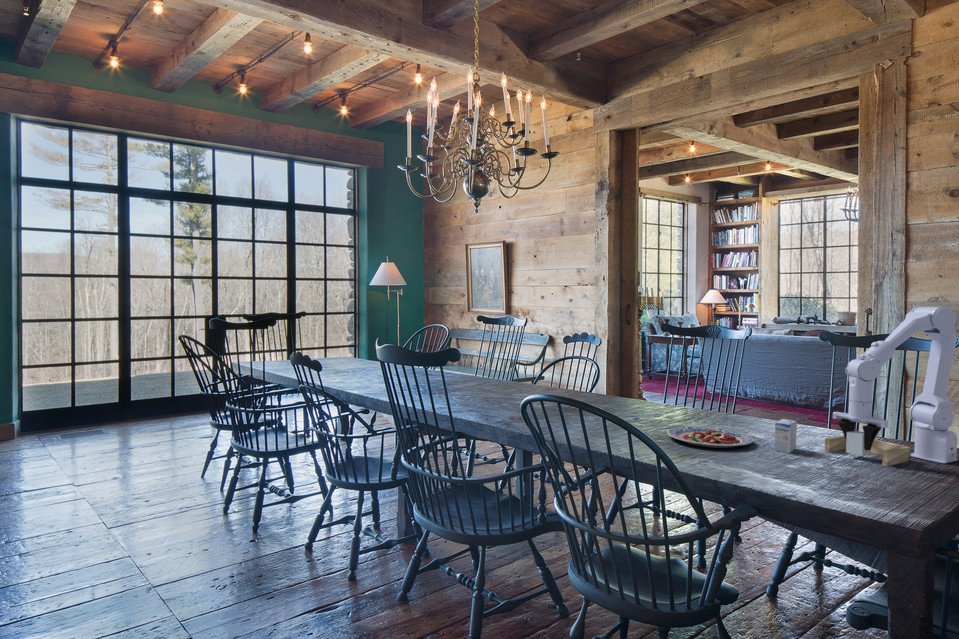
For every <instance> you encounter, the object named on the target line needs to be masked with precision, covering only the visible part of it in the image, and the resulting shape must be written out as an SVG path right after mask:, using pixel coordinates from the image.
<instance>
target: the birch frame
mask: <svg viewBox="0 0 959 639" xmlns="http://www.w3.org/2000/svg"><path fill="white" fill-rule="evenodd" d="M844 450H845V451H846V441H845V437H844V434H843V435H837V436H831V437H826V438H824V452H826V453H834V452H837V451H844ZM911 451H912V447H911V446H909V445H907V446H906V445H903V444H898V443H892V442H888V441H885V440H884V441H883V440H877V439H874V441H873V444H872V447H871V454H873V455H878V456H882V458H881V459H882V460H881V461H882V463H881V466H885V467H889V466H893V465H898V464H903V463H908V462H911Z"/></svg>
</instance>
